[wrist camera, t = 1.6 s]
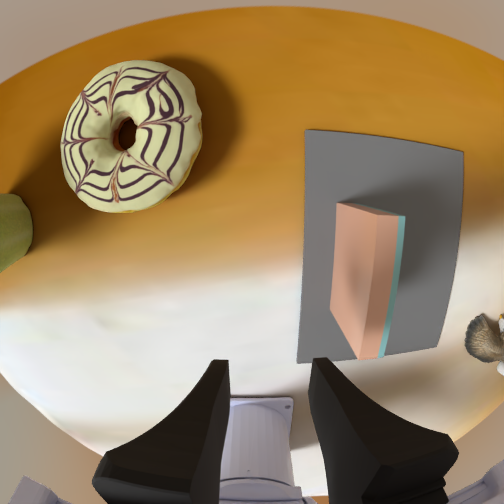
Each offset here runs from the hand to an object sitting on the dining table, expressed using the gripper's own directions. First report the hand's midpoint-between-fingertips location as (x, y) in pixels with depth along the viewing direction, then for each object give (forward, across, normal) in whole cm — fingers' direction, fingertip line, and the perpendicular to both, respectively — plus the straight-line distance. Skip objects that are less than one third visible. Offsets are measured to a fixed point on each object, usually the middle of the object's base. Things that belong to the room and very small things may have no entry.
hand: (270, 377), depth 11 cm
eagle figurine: (+11, -26, +7) cm, 29 cm away
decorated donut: (+11, +9, -11) cm, 18 cm away
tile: (+10, -6, -2) cm, 12 cm away
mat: (+10, -10, -2) cm, 15 cm away
